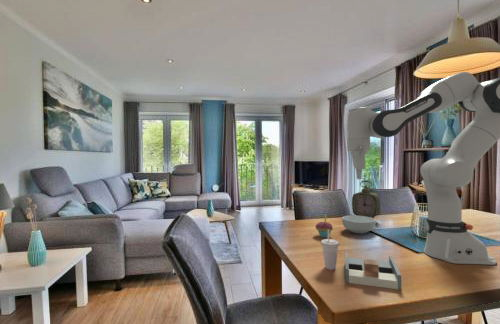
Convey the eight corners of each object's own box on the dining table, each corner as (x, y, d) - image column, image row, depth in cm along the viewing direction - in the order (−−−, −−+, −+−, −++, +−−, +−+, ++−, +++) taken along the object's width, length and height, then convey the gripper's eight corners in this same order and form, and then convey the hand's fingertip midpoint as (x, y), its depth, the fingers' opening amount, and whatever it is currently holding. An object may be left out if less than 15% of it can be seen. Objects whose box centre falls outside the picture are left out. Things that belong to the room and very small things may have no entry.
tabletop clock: (352, 221, 164) (351, 180, 164) (356, 218, 171) (356, 179, 170) (377, 224, 155) (376, 182, 154) (381, 221, 162) (380, 180, 161)
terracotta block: (377, 272, 87) (377, 260, 87) (378, 277, 84) (378, 265, 84) (364, 270, 89) (363, 258, 89) (364, 275, 85) (364, 263, 85)
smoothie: (325, 262, 102) (325, 226, 102) (342, 266, 98) (341, 229, 98) (318, 268, 97) (317, 230, 97) (335, 272, 93) (334, 233, 93)
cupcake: (336, 237, 133) (336, 213, 133) (322, 239, 130) (321, 215, 130) (325, 232, 141) (325, 210, 141) (312, 234, 138) (311, 212, 138)
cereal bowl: (380, 236, 132) (380, 222, 132) (345, 235, 135) (345, 222, 135) (370, 227, 149) (370, 215, 149) (339, 227, 152) (339, 214, 152)
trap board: (392, 268, 96) (392, 256, 96) (401, 289, 81) (401, 275, 81) (345, 263, 101) (345, 251, 101) (345, 282, 86) (345, 268, 86)
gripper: (369, 145, 100) (369, 181, 101) (364, 146, 120) (365, 177, 120) (351, 145, 102) (351, 181, 103) (350, 147, 122) (350, 177, 122)
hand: (359, 179), depth 112 cm, fingers closed
